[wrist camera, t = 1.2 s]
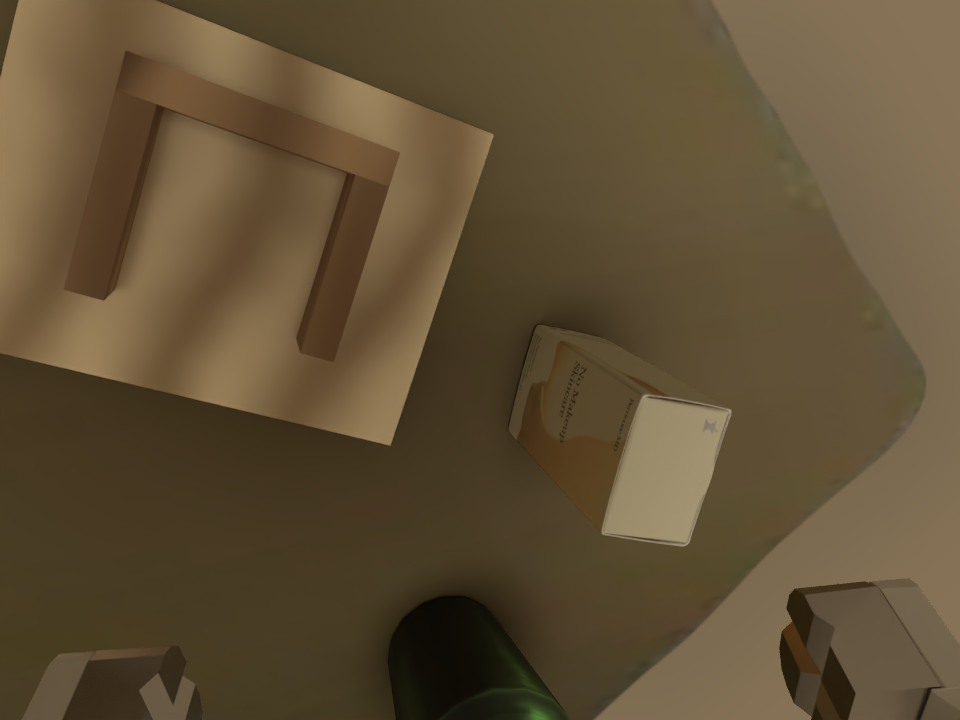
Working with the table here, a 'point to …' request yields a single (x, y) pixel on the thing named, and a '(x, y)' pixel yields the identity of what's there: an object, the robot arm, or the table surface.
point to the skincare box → (617, 435)
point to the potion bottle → (463, 668)
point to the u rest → (221, 215)
